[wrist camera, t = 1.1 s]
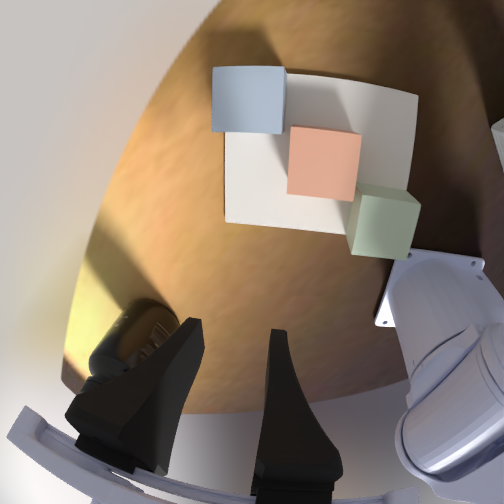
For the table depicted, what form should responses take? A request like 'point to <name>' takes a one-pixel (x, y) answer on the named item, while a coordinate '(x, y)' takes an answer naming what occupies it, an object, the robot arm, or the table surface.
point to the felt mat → (329, 116)
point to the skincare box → (499, 139)
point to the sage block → (382, 222)
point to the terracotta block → (323, 162)
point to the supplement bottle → (130, 341)
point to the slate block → (249, 99)
